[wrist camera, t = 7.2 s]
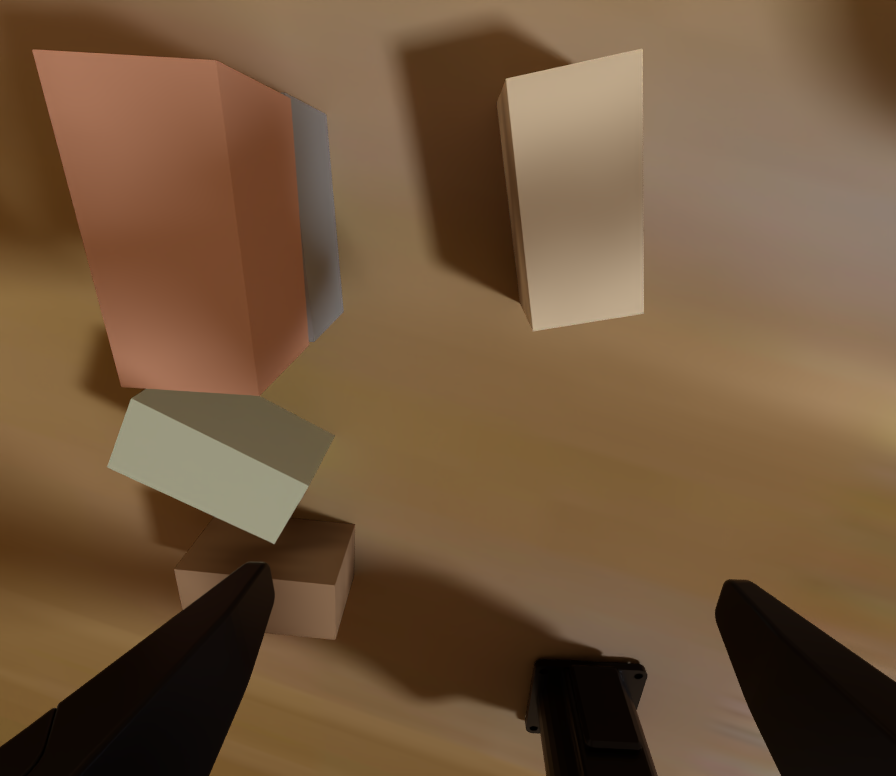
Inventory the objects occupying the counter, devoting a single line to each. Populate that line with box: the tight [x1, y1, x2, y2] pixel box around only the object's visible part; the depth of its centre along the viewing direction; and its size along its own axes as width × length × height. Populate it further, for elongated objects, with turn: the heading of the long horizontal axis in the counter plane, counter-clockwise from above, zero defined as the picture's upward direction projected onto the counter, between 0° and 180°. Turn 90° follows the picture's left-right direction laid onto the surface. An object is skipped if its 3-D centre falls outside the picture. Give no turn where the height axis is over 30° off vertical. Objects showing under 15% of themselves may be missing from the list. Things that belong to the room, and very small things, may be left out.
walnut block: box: [174, 517, 355, 640], centre depth 22 cm, size 7×4×4 cm, turn 84°
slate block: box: [281, 93, 343, 342], centre depth 15 cm, size 7×4×4 cm, turn 179°
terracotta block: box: [32, 49, 309, 396], centre depth 12 cm, size 7×4×4 cm, turn 177°
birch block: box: [497, 49, 644, 331], centre depth 15 cm, size 7×4×4 cm, turn 10°
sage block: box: [107, 389, 335, 544], centre depth 19 cm, size 7×4×4 cm, turn 58°
